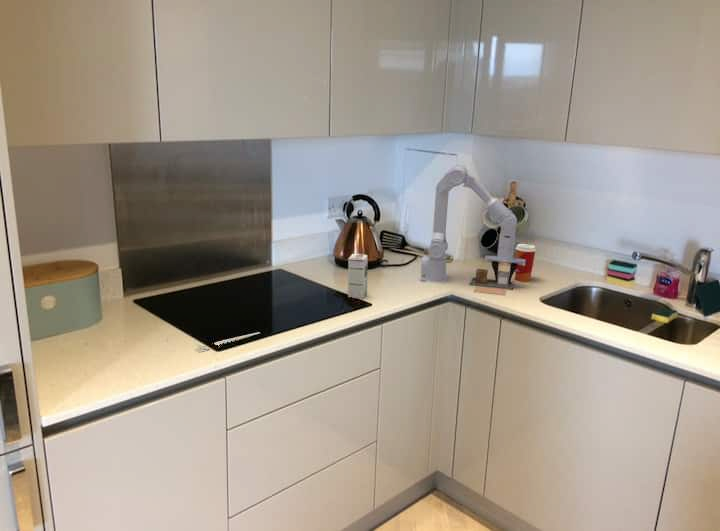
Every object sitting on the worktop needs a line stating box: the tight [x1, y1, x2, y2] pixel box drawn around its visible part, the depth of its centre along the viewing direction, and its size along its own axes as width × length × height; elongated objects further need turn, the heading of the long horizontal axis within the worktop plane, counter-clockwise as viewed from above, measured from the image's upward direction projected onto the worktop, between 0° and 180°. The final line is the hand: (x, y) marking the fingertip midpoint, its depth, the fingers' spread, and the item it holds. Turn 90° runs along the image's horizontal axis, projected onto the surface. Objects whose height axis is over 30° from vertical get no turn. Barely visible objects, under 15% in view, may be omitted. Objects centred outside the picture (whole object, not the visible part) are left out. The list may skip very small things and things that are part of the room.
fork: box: [195, 331, 260, 351], centre depth 167 cm, size 3×20×2 cm, turn 134°
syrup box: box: [347, 253, 369, 300], centre depth 206 cm, size 6×6×14 cm
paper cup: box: [514, 243, 537, 283], centre depth 228 cm, size 8×8×14 cm
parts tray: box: [469, 276, 514, 291], centre depth 223 cm, size 16×8×1 cm, turn 74°
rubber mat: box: [473, 286, 507, 297], centre depth 216 cm, size 11×7×1 cm, turn 74°
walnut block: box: [474, 268, 489, 284], centre depth 224 cm, size 4×4×5 cm
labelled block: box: [497, 270, 510, 287], centre depth 222 cm, size 4×4×5 cm
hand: (502, 281), depth 222 cm, fingers closed on labelled block, 4 cm apart
